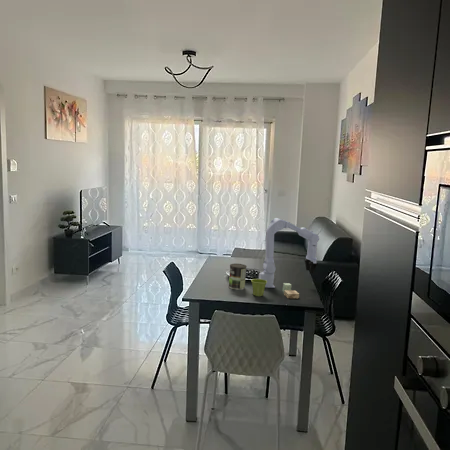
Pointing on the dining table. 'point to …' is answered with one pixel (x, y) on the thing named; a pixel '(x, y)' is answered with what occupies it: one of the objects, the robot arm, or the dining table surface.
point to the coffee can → (237, 276)
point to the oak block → (291, 294)
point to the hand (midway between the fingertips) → (309, 271)
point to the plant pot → (258, 286)
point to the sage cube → (286, 286)
